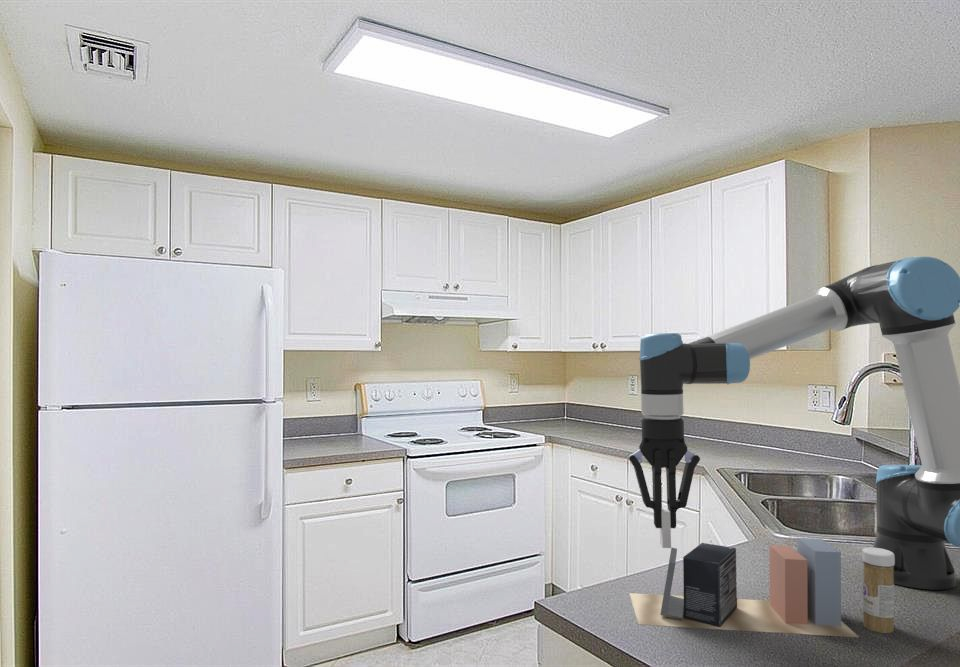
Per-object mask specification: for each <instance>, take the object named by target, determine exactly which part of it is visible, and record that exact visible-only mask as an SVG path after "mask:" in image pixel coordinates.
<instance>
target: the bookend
mask: <svg viewBox="0 0 960 667" xmlns="http://www.w3.org/2000/svg"><path fill="white" fill-rule="evenodd" d="M677 553H678V548H675V547H672V546H671V548H670V555H669V561H668V565H667V571H666V576H665V583H664V590H663V594H662V595H663V601H662V607H661V614H660V615H662V616H666V617H669V618H673V619H676V620H680V621H682V617H683V602H684V599H682V598H678V597H675V596H676V595H673V596H671V592H672V585H673V580H674V575H675V568H676V561H677Z"/></svg>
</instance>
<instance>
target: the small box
mask: <svg viewBox="0 0 960 667" xmlns="http://www.w3.org/2000/svg"><path fill="white" fill-rule="evenodd" d="M682 560H683V562H682V565H683V567H682V568H683V570H682V571H683V574H682V575H683V596H684V618H685V619H689V620H693V621H697V622H701V623H705V624H709V625H713V626H717V627H721V626H722V624H723V623H724V622H725V621H726V620H727V619H728V617H729V616H730V615H731V614H732V613H733V612H734V610H735V609H736V608H737V599H738V595H737V593H738V592H737V548H736V547H731V546H726V545H720V544H719V545H717V544H712V543H707V542H706V543H705V542H701V543H700V544H698V545H697V546H696V547H694V548H693V549H692V550H691V551H689V552H688V553H687V554H685V555H684V556H683V557H682Z"/></svg>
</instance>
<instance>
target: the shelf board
mask: <svg viewBox="0 0 960 667" xmlns="http://www.w3.org/2000/svg"><path fill="white" fill-rule="evenodd" d="M628 594H629V597H630V600H631V604H632V606H633V610H634V613H635V617H636V621H637V623H638V625H641V626H655V627H656V626H659V627H673V628H674V627H675V628H690V629H691V628H692V629H693V628H694V629H709V630H726V631H740V632H741V631H743V632H757V633H758V632H760V633H774V634H775V633H776V634H794V635H808V636H809V635H810V636H827V637H842V638H843V637H845V638H859V635H858V634H856V633H855V632H854V631H853V630H852V629H851V628H850V627H848V625H847V624H845V623H844V622H843V621H842V620H841V626H827V625H815V624H814V623H813V622H812V621H811V620H810V618H809V617H808V624H792V623H785V622H784V621H783V620H782V619H781V617H780V616H779V615H778V614H777V613H776V612H775V610H774V609H773V608H772V607H771V606H770V600H767V599H766V600H765V599H764V600H763V599H745V598H742V599H741V598H737V608H736V609H735V610H734V612H733V613H732V614H731V615H730V616H729V617H728V619H727V620H726V621H725V622H724V623H723V624H722V626H721V627H717V626H713V625H709V624H705V623H701V622H697V621H693V620H689V619H685V618H684V602H683V617H682V621H680V620H676V619H673V618H669V617H666V616H662V615H660V614H661V607H662V601H663V595H664V594H653V593H651V594H650V593H634V592H631V593H630V592H629V593H628ZM670 595H671V594H670ZM671 596H675V597H678V598H682V599H684V595H673V594H672V595H671Z"/></svg>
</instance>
